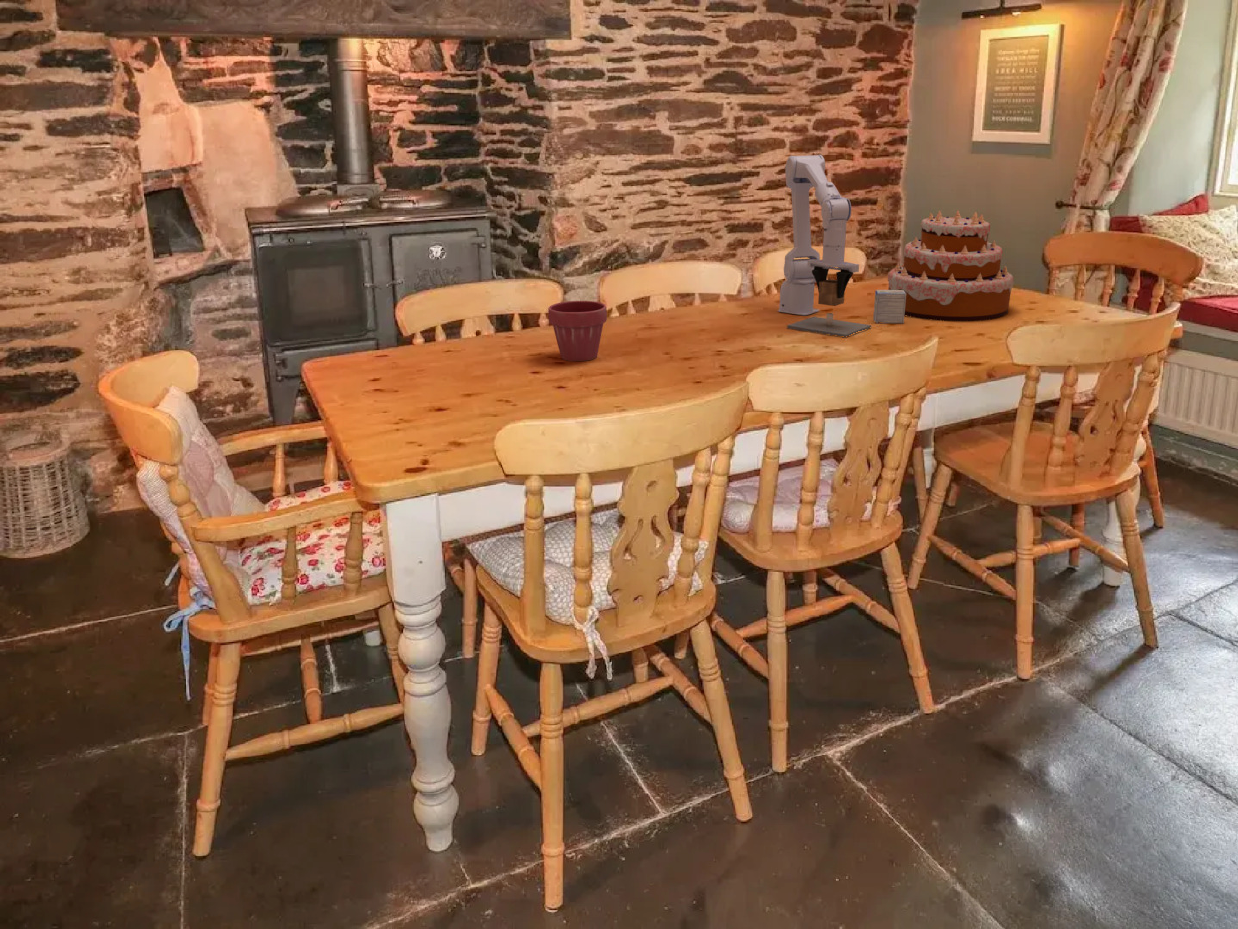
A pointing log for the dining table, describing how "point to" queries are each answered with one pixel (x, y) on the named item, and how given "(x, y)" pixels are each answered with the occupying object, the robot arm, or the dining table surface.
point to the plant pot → (578, 328)
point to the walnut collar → (829, 293)
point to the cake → (953, 272)
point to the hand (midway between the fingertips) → (830, 296)
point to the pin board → (828, 326)
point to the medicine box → (889, 306)
